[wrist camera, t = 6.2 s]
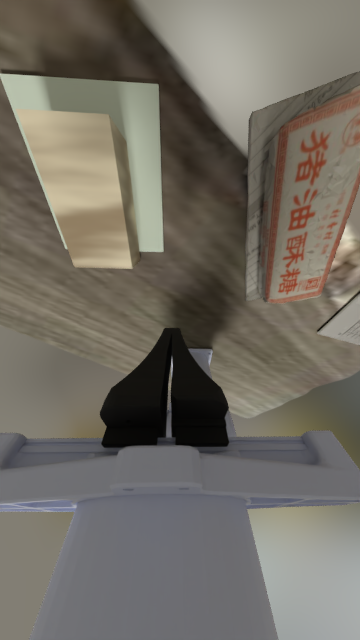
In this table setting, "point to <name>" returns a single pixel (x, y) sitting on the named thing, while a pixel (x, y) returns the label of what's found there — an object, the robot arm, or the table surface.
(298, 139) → the packaged product
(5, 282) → the table surface
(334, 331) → the laptop
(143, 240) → the mat
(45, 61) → the table surface
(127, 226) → the birch block
